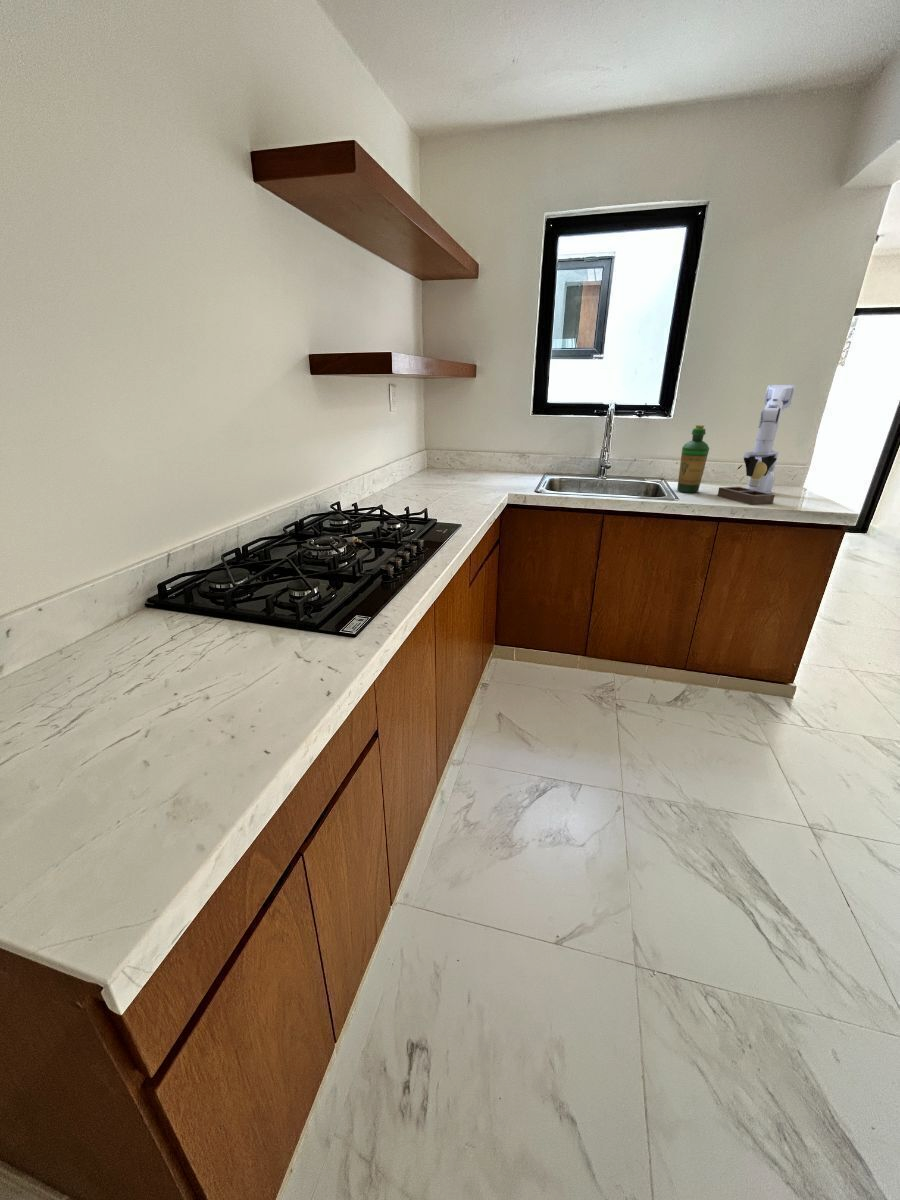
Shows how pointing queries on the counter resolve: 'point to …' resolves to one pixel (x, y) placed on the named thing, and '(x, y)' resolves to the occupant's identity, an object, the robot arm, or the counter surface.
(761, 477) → the robot arm
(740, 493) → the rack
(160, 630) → the counter surface
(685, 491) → the bottle
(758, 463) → the light bulb
